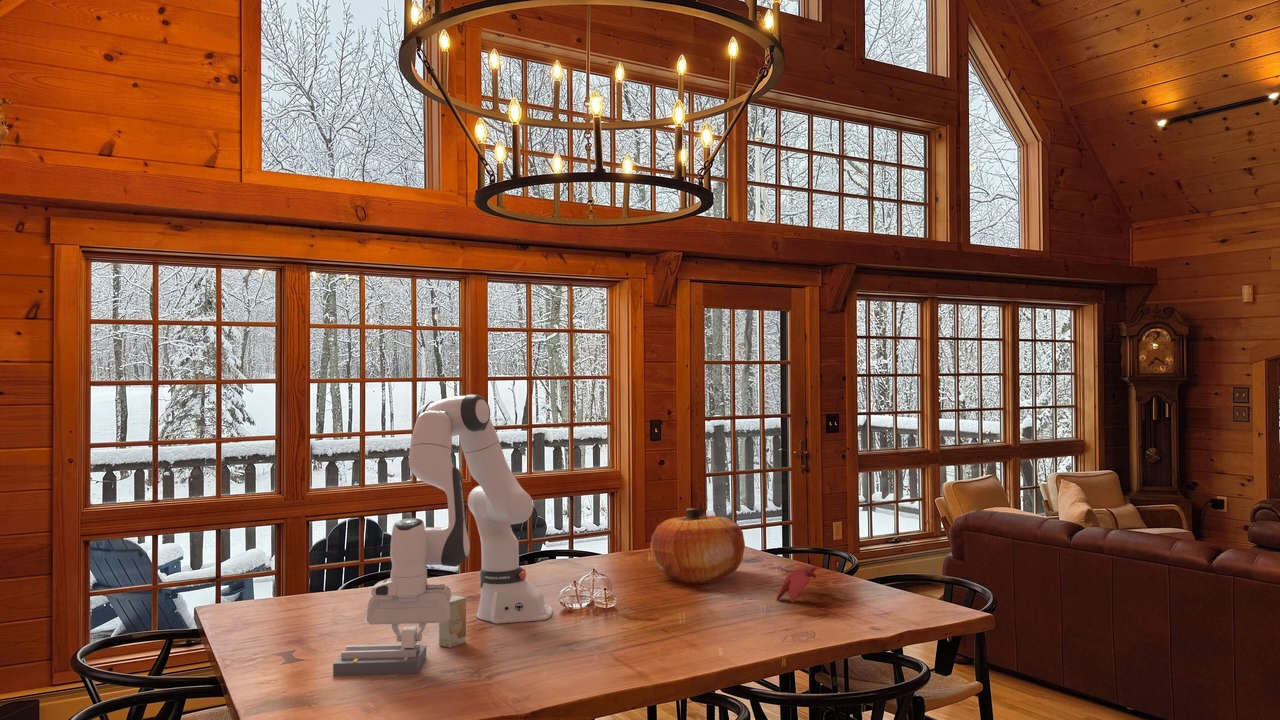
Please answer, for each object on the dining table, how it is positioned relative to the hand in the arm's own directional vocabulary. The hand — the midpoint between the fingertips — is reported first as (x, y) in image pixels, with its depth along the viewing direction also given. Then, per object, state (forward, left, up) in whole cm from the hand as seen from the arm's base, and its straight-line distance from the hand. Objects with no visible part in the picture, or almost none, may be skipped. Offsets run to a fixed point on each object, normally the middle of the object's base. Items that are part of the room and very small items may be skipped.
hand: (409, 640), depth 216 cm
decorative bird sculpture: (-110, -51, -6) cm, 122 cm away
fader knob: (0, 0, -3) cm, 3 cm away
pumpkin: (-83, -85, -6) cm, 119 cm away
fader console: (+7, 0, -6) cm, 9 cm away
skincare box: (-8, -17, -6) cm, 20 cm away
